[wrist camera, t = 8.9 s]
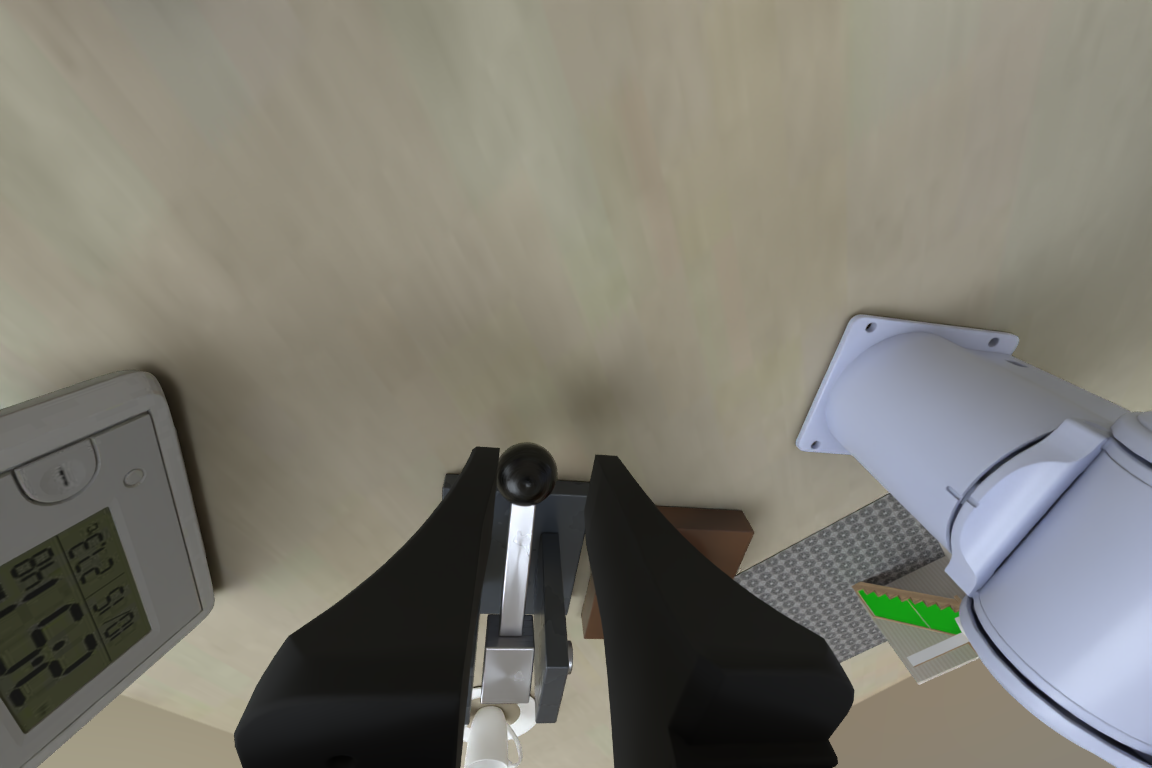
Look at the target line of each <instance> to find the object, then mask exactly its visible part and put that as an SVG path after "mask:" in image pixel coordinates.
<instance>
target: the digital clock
mask: <svg viewBox="0 0 1152 768" xmlns="http://www.w3.org/2000/svg"><path fill="white" fill-rule="evenodd" d="M214 602H215V598H214V591H213V586H212V581H211V577H210V572H209V568H208V564H207V560H206V552H205V548H204V543H203V539H202V535H201V531H200V527H199V522H198V518H197V514H196V510H195V506H194V502H193V497H192V493H191V489H190V485H189V481H188V476H187V472H186V468H185V464H184V460H183V455H182V451H181V447H180V443H179V439H178V435H177V430H176V428H175V427H174V424H173V420H172V417H171V413H170V410H169V407H168V404H167V401H166V398H165V395H164V393H163V390H162V388H161V386H160V384H159V382H158V380H157V379H156V377H155V376H153V375H152V374H151V373H148V372H144V371H139V370H125V371H117V372H113V373H109V374H106V375H102V376H99V377H96V378H93V379H90V380H87V381H84V382H81V383H78V384H75V385H72V386H69V387H66V388H63V389H60V390H57V391H54V392H51V393H48V394H45V395H42V396H39V397H36V398H34V399H31V400H28V401H25V402H22V403H19V404H16V405H13V406H10V407H7V408H4V409H1V410H0V768H37V767H38V766H39V765H40V764H41V763H43V762H44V761H45V760H46V759H47V758H48V757H49V756H51V755H52V754H53V753H54V752H55V751H56V750H57V749H58V748H60V747H61V746H62V745H63V744H64V743H65V742H66V741H67V740H69V739H70V738H71V737H72V736H73V735H74V734H75V733H77V731H79V730H80V729H81V728H82V727H83V726H84V725H86V724H87V723H88V722H89V721H90V720H91V719H92V718H93V717H95V715H97V714H98V713H99V712H100V711H101V710H102V709H104V708H105V707H106V706H107V705H108V704H109V703H110V702H112V701H113V700H114V699H115V698H116V697H117V696H118V695H119V694H121V693H122V692H123V691H124V690H125V689H126V688H127V687H129V686H130V685H131V684H132V683H133V682H134V681H135V680H136V679H138V678H139V677H140V676H141V675H142V674H143V673H144V672H145V671H147V670H148V669H149V668H150V667H151V666H152V665H153V664H155V663H156V662H157V661H158V660H159V659H160V658H161V657H162V656H164V655H165V654H166V653H167V652H168V651H169V650H170V649H172V648H173V647H174V646H175V645H176V644H177V643H178V642H179V641H181V640H182V639H183V638H184V637H185V636H186V635H187V634H188V633H190V632H191V631H192V630H193V629H194V628H195V627H196V626H197V625H198V624H199V623H201V622H202V621H203V620H204V619H205V618H206V616H207V615H208V614H209V613H210V612H211V610H212V609H213V606H214Z"/></svg>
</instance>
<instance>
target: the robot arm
mask: <svg viewBox="0 0 1152 768" xmlns="http://www.w3.org/2000/svg"><path fill="white" fill-rule="evenodd" d="M870 323H871V326H870V327H869V328H868V329H866V327H867V325H868V324H870ZM990 340H991V341H990ZM989 341H990V342H989ZM1018 343H1019V338H1018V336H1016V335H1014V334H1011V333H1007V332H999V331H991V330H983V329H975V328H967V327H959V326H951V325H943V324H935V323H928V322H920V321H912V320H904V319H896V318H888V317H880V316H872V315H864V314H859V315H856V316H854V317H853V318H852V319H851V320H850V321H849V323H848V325H847V327H846V329H845V332H844V334H843V336H842V338H841V341H840V343H839V345H838V347H837V350H836V352H835V354H834V356H833V358H832V361H831V363H830V365H829V367H828V370H827V372H826V374H825V376H824V379H823V381H822V383H821V385H820V388H819V390H818V392H817V394H816V397H815V399H814V401H813V403H812V406H811V408H810V410H809V412H808V415H807V417H806V419H805V421H804V424H803V426H802V428H801V430H800V433H799V435H798V437H797V439H796V446H797V447H798V448H799V449H800V450H801V451H807V452H820V453H833V454H847V455H852V456H853V457H854V458H855V459H856V460H857V461H858V462H859V463H860V464H861V465H862V466H863V467H864V468H865V469H866V470H867V471H868V472H869V473H870V474H871V475H872V476H873V477H874V478H875V479H876V480H877V481H878V482H879V483H880V484H881V485H882V486H883V487H884V488H885V489H886V490H887V491H888V492H889V493H890V494H891V495H892V496H893V497H894V498H895V499H896V500H897V501H898V502H899V503H900V504H902V505H903V506H904V507H905V508H906V509H907V510H908V511H909V512H910V513H911V514H912V515H913V516H914V517H915V518H916V519H917V520H918V521H919V522H920V523H921V524H922V525H923V526H924V527H925V528H926V529H927V530H928V531H929V532H930V533H931V534H932V535H933V536H934V537H935V538H936V539H937V540H938V541H939V542H940V543H941V544H942V545H943V546H944V547H945V548H946V549H947V550H948V551H949V552H950V553H951V554H952V557H951V560H950V562H949V564H948V565H947V567H946V568H945V572H946V573H947V574H948V575H949V576H950V577H951V578H952V579H953V581H954V582H955V583H956V584H957V585H958V586H959V587H960V588H961V589H962V590H963V591H964V592H965V593H966V595H965V597H964V598H963V599H962V601H961V604H960V606H959V617H960V621H961V625H962V627H963V630H964V632H965V634H966V636H967V638H968V640H969V642H970V643H971V645H972V647H973V648H974V650H975V651H976V653H977V654H978V656H979V658H980V659H981V661H982V662H983V664H984V665H985V666H986V668H987V669H988V670H989V671H990V673H991V674H992V675H993V676H994V678H995V679H996V680H997V681H998V682H999V683H1000V684H1001V685H1002V686H1003V687H1004V689H1005V690H1006V691H1007V692H1008V693H1009V694H1010V695H1012V696H1013V697H1014V698H1015V699H1016V700H1017V701H1018V702H1019V703H1020V704H1021V705H1022V706H1024V707H1025V708H1026V709H1027V710H1028V711H1030V712H1031V713H1032V714H1033V715H1034V716H1036V717H1037V718H1038V719H1039V720H1041V721H1042V722H1043V723H1045V724H1046V725H1047V726H1049V727H1050V728H1052V729H1053V730H1054V731H1056V732H1057V733H1059V734H1060V735H1062V736H1063V737H1065V738H1067V739H1068V740H1070V741H1072V742H1073V743H1075V744H1077V745H1078V746H1080V747H1082V748H1084V749H1086V750H1088V751H1090V752H1092V753H1094V754H1095V755H1097V756H1099V757H1100V758H1102V759H1103V760H1105V761H1107V762H1108V763H1110V764H1112V765H1113V766H1115V767H1116V768H1152V411H1147V412H1131V411H1129V410H1127V409H1125V408H1123V407H1121V406H1119V405H1117V404H1115V403H1113V402H1110V401H1108V400H1106V399H1104V398H1102V397H1100V396H1097V395H1095V394H1093V393H1091V392H1089V391H1087V390H1085V389H1082V388H1080V387H1078V386H1076V385H1074V384H1072V383H1069V382H1067V381H1065V380H1063V379H1061V378H1059V377H1056V376H1054V375H1052V374H1050V373H1048V372H1046V371H1043V370H1041V369H1039V368H1037V367H1035V366H1033V365H1031V364H1028V363H1026V362H1024V361H1022V360H1020V359H1018V358H1015V357H1013V356H1011V355H1012V353H1013V352H1014V350H1015V348H1016V347H1017V345H1018ZM815 441H816V442H815ZM813 442H815V443H814V444H813V445H812V443H813ZM499 451H500V448H491V447H475V448H474V449H473V450H472V452H471V455H470V457H469V459H468V461H467V463H466V465H465V467H464V468H463V470H462V472H461V473H460V475H459V477H458V478H457V480H456V481H455V483H454V484H453V486H452V487H451V489H450V490H449V492H448V493H447V495H446V496H445V497H444V499H443V500H442V501H441V503H440V504H439V505H438V507H437V508H436V509H435V510H434V512H433V513H432V514H431V515H430V517H429V518H428V519H427V520H426V522H425V523H424V524H423V525H422V526H421V527H420V529H419V530H418V531H417V532H416V533H415V534H414V535H413V536H412V537H411V538H410V539H409V540H408V541H407V542H406V544H405V545H404V546H403V547H402V548H401V549H400V550H398V551H397V552H396V553H395V554H394V555H393V556H392V557H391V558H390V559H389V560H388V561H387V562H386V563H385V564H384V565H383V566H382V567H380V568H379V569H378V570H377V571H376V572H375V573H374V574H372V575H371V576H370V577H369V578H368V579H366V580H365V581H364V582H363V583H361V584H360V585H359V586H358V587H356V588H355V589H354V590H353V591H351V592H350V593H349V594H348V595H346V596H345V597H344V598H343V599H341V600H340V601H339V602H337V603H336V604H335V605H333V606H332V607H331V608H329V609H328V610H326V611H325V612H323V613H322V614H320V615H319V616H317V617H316V618H315V619H313V620H312V621H310V622H309V623H307V624H306V625H304V626H303V627H301V628H300V629H299V630H297V631H296V632H294V633H292V634H291V635H289V636H288V638H287V639H286V640H285V642H284V643H283V645H282V646H281V648H280V649H279V651H278V652H277V654H276V655H275V656H274V658H273V660H272V661H271V663H270V664H269V666H268V668H267V669H266V671H265V672H264V674H263V675H262V677H261V679H260V681H259V682H258V684H257V686H256V688H255V690H254V692H253V694H252V696H251V699H250V701H249V703H248V705H247V707H246V709H245V711H244V713H243V716H242V718H241V720H240V722H239V724H238V726H237V728H236V730H235V732H234V738H235V739H234V740H235V747H236V750H237V753H238V756H239V758H240V761H241V764H242V767H243V768H460V766H461V756H462V746H463V736H464V726H465V716H466V706H467V697H468V687H469V677H470V667H471V658H472V648H473V638H474V631H475V624H476V618H477V613H478V607H479V602H480V597H481V592H482V587H483V581H484V576H485V571H486V566H487V561H488V555H489V550H490V545H491V539H492V528H493V517H494V506H495V495H496V485H497V474H498V463H499ZM584 519H585V534H586V545H587V551H588V556H589V561H590V566H591V572H592V577H593V582H594V587H595V592H596V597H597V602H598V607H599V612H600V617H601V623H602V629H603V636H604V645H605V655H606V665H607V676H608V688H609V700H610V712H611V725H612V740H613V755H614V768H833V767H835V766H836V765H837V764H838V760H837V756H836V754H835V752H834V750H833V748H832V746H831V744H830V742H829V740H828V739H829V738H830V736H831V735H832V734H833V732H834V731H835V730H836V728H837V727H838V726H839V724H840V723H841V722H842V720H843V719H844V718H845V716H846V715H847V714H848V712H849V710H850V708H851V706H852V704H853V701H854V689H853V686H852V684H851V682H850V680H849V679H848V677H847V675H846V673H845V672H844V670H843V668H842V666H841V665H840V663H839V661H838V659H837V658H836V656H835V655H834V653H833V651H832V650H831V648H830V646H829V645H828V643H827V642H826V641H825V639H824V638H823V637H821V636H819V635H818V634H816V633H814V632H812V631H811V630H809V629H807V628H806V627H804V626H802V625H801V624H799V623H797V622H795V621H794V620H792V619H790V618H789V617H787V616H785V615H784V614H782V613H780V612H779V611H777V610H776V609H774V608H773V607H771V606H770V605H768V604H767V603H765V602H764V601H762V600H761V599H759V598H758V597H756V596H755V595H753V594H752V593H751V592H749V591H748V590H747V589H745V588H744V587H742V586H741V585H740V584H738V583H737V582H736V581H734V580H733V579H732V578H731V577H729V576H728V575H727V574H726V573H724V572H723V571H722V570H721V569H719V568H718V567H717V566H716V565H714V564H713V563H712V562H711V561H710V560H709V559H707V558H706V557H705V556H704V555H703V554H702V553H701V552H700V551H699V550H698V549H696V548H695V547H694V546H693V545H692V544H691V543H690V542H689V541H688V540H687V539H686V538H685V537H684V536H683V535H682V534H681V533H680V532H679V531H678V530H677V529H676V528H675V527H674V526H673V525H672V524H671V523H670V522H669V520H668V519H667V518H666V517H665V516H664V515H663V514H662V513H661V512H660V510H659V509H658V508H657V507H656V506H655V504H654V503H653V502H652V501H651V499H650V498H649V497H648V496H647V495H646V493H645V492H644V491H643V490H642V488H641V487H640V486H639V484H638V483H637V482H636V480H635V479H634V478H633V476H632V475H631V474H630V472H629V471H628V470H627V468H626V467H625V466H624V464H623V463H622V462H621V460H620V459H619V458H618V457H617V456H609V455H595V460H594V465H593V470H592V474H591V479H590V484H589V489H588V494H587V498H586V503H585V508H584Z"/></svg>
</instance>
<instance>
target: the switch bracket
mask: <svg viewBox="0 0 1152 768" xmlns="http://www.w3.org/2000/svg"><path fill="white" fill-rule="evenodd" d="M458 477H459V475H455V474H446V476H445V480H444V484H443V488H442V500H443V499H444V497H445V496H446V495H447V493H448V492H449V490H450V489H451V487H452V486H453V484H454V483H455V481H456V480H457V478H458ZM589 484H590V483H589V482H574V481H557V482H556V485H555V488H554V490H553V491H552V493H551V494H550V495H549V496H548V497H547V498H546V499H545V500H544V501H543V502H541V503H539V504H537V505H536V511H535V521H534V530H533V540H532V550H531V559H530V569H529V579H528V588H527V598H526V607H525V614H534V641H535V654H534V669H535V722H536V723H555V722H556V721H557V716H558V712H559V708H560V704H561V700H562V695H563V691H564V687H565V683H566V679H567V675H568V674H571V671H572V665H573V649H572V643H571V641H567V630H566V617H565V615H567V613H568V609H569V604H570V599H571V595H572V590H573V586H574V581H575V576H576V572H577V567H578V562H579V558H580V553H581V549H582V544H583V539H584V535H585V519H584V508H585V503H586V498H587V494H588V489H589ZM509 514H510V502H508V501H507V500H505V499H504V498H503V497H502V495H501V494H500V493H499V491H498V489H497V487H496V495H495V506H494V517H493V528H492V539H491V545H490V550H489V555H488V561H487V566H486V571H485V576H484V581H483V587H482V592H481V597H480V602H479V607H478V613H477V618H476V624H475V631H474V638H473V648H472V658H471V667H470V677H469V687H468V697H467V706H466V716H465V725H468V724H469V722H470V711H471V701H472V691H473V681H474V671H475V660H476V650H477V640H478V630H479V620H480V614H500V607H501V597H502V586H503V576H504V566H505V555H506V545H507V534H508V524H509Z"/></svg>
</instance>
